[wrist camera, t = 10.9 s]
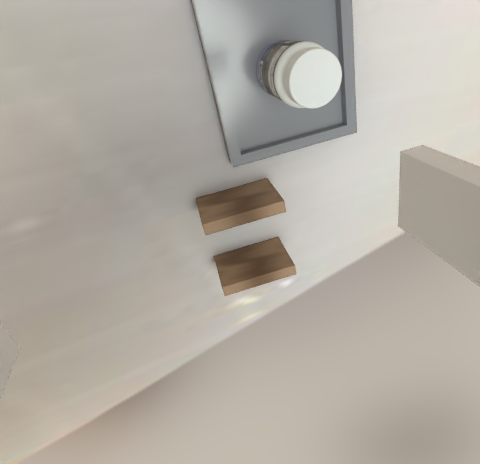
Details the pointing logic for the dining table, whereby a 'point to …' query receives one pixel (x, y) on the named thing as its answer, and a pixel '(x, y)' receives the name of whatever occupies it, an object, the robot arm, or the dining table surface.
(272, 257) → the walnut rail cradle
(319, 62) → the pill bottle
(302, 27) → the slate tray
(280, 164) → the dining table surface
